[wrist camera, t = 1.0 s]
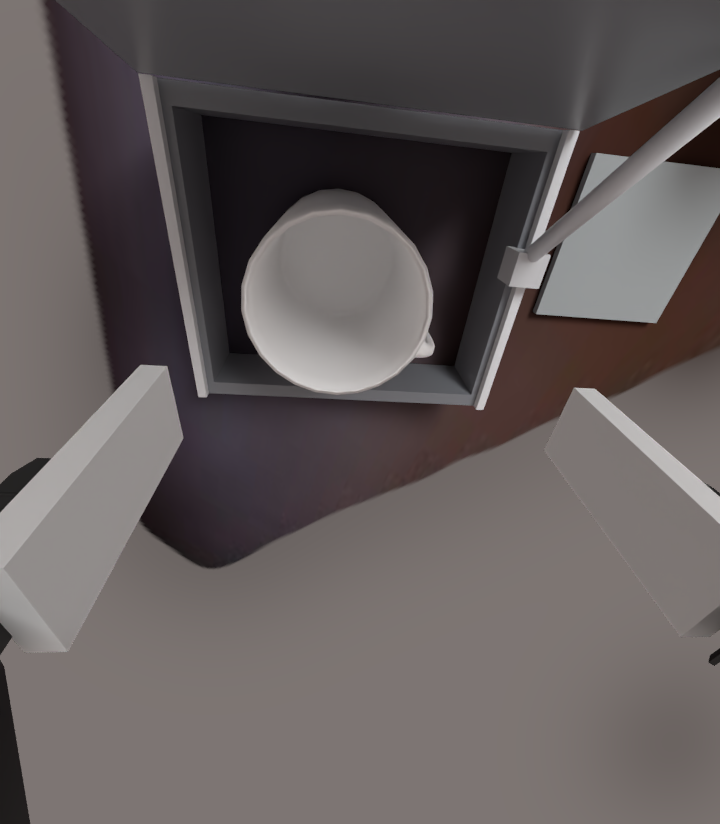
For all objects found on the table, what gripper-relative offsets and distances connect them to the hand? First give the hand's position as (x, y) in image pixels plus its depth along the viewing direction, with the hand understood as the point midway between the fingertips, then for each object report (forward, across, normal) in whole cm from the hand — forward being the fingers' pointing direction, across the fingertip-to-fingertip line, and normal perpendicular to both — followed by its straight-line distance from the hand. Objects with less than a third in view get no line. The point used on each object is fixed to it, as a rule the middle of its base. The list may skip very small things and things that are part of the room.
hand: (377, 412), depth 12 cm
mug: (+20, 0, 0) cm, 20 cm away
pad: (+19, +21, +3) cm, 29 cm away
